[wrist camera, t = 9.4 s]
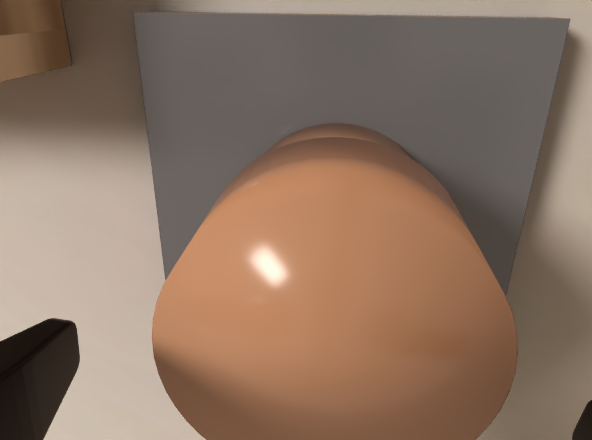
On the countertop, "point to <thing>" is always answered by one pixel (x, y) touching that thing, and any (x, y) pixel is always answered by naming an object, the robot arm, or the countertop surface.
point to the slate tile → (349, 104)
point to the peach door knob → (335, 302)
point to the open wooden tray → (32, 38)
